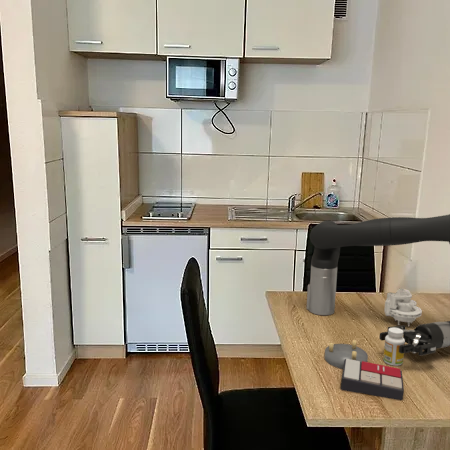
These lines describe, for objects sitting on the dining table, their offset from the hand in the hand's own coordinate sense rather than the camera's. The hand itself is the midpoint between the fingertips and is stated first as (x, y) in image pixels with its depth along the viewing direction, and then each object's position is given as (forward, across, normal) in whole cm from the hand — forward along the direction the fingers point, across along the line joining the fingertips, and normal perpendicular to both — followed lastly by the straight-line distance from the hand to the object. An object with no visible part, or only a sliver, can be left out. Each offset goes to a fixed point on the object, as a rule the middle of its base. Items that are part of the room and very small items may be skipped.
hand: (389, 343), depth 134 cm
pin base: (+11, -5, +6) cm, 13 cm away
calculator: (+12, +8, +7) cm, 16 cm away
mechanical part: (-23, -22, +6) cm, 33 cm away
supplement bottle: (-2, 0, +6) cm, 6 cm away
